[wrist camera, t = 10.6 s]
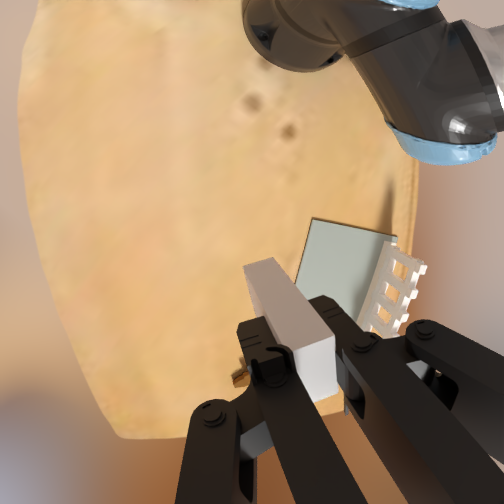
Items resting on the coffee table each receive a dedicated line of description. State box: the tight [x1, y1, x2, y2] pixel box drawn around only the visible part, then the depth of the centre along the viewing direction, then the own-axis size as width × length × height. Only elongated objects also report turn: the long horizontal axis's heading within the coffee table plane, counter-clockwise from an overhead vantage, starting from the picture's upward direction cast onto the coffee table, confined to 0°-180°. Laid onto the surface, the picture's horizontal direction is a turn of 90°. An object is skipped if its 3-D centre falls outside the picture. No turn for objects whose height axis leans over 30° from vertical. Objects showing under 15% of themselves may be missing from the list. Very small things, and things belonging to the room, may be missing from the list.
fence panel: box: [361, 245, 427, 339], centre depth 45 cm, size 18×2×9 cm, turn 169°
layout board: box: [295, 219, 398, 328], centre depth 49 cm, size 25×17×1 cm
